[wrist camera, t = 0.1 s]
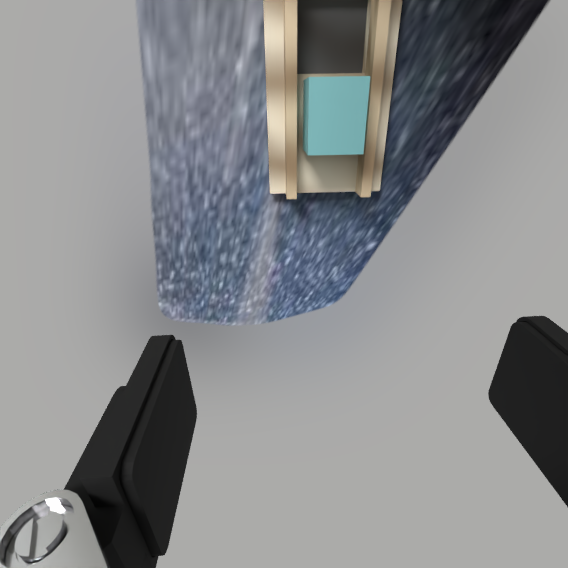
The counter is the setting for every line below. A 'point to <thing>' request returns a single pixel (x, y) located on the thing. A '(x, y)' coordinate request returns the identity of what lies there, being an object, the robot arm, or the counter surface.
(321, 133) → the block
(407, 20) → the counter surface
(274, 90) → the channel
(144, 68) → the counter surface
